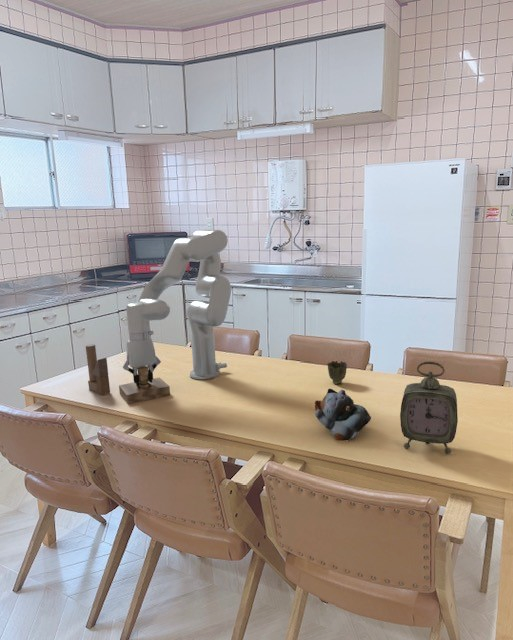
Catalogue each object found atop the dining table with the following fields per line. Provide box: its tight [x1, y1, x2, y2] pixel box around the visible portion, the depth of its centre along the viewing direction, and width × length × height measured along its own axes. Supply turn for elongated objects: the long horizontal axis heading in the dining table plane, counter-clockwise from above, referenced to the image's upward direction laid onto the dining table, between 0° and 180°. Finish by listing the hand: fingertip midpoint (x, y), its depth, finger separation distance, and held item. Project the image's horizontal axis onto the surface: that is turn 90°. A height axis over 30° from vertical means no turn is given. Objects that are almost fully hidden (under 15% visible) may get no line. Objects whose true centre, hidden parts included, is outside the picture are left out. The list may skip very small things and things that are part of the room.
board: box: [118, 376, 171, 405], centre depth 185 cm, size 16×12×4 cm
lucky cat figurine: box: [314, 388, 372, 441], centre depth 147 cm, size 15×12×14 cm
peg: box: [137, 366, 149, 389], centre depth 184 cm, size 4×4×10 cm
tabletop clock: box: [399, 361, 459, 455], centre depth 134 cm, size 14×9×25 cm, turn 69°
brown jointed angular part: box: [85, 343, 111, 396], centre depth 189 cm, size 4×11×18 cm, turn 45°
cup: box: [327, 360, 348, 385], centre depth 188 cm, size 8×7×8 cm
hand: (143, 382), depth 184 cm, fingers open, 4 cm apart
